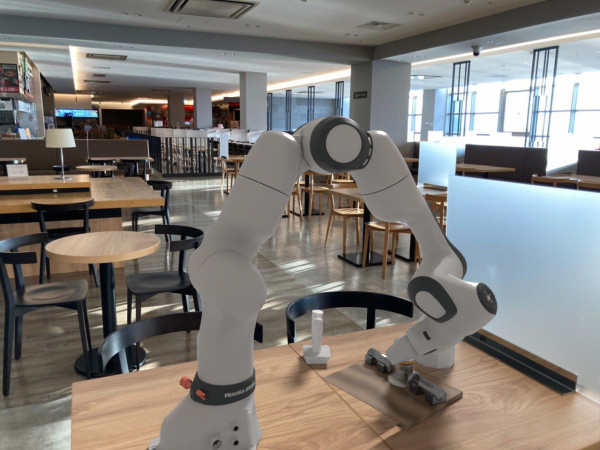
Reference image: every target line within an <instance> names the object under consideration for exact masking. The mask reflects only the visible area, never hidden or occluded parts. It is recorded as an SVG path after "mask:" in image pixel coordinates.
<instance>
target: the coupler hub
mask: <svg viewBox="0 0 600 450" xmlns="http://www.w3.org/2000/svg"><path fill="white" fill-rule="evenodd" d="M400 338H401V337H397V338H395V339H394V341H393V344H394V343H395V342H396V341H397V340H398V339H400ZM414 364H415V359H414V357H413V358H411V359H408V360H406V361H404V362H402V363H400V364H397V365H393V373H392V375H393V377H394V378H396V379H398V380H402V381H407V378H408V375H409V374H410V373H411V372H412V371H413V369H414Z"/></svg>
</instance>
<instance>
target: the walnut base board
mask: <svg viewBox="0 0 600 450" xmlns="http://www.w3.org/2000/svg"><path fill="white" fill-rule="evenodd" d="M413 371H417V372H419V373H420V374H421V377H423V378H425V379H426V380H428V381H430V382H431V383H433V384H435V385H437V386H438V387H440V388H442V389H443V390H445V392H447V397H446V401H445V402H443V403H440V404H437V405H435V406H431V405H430V404H428V403H427V402H425V393H424V394H421V395H418V396H416V395H414V394H413V393H411V392H410V391H409V390H410V385H408V383H407V381H402V380H398V379H396V378H394V377H393V375H392V373H385V374H382V373H380V372H379V371H377V364H376V365H373V366H370V365H368V364H367V363H365V359H364V360H361V361H359V362H357V363H354V364H351V365H349V366H347V367H345V368H342V369H339V370H338V371H334V372H333V373H330V374H327V375H326V376H324V377H321V379H322V380H323V381H326V382H327V383H328V384H331V385H332V386H334V387H336V388H338V389H339V390H341V391H342V392H345V393H346V394H348V395H350V396H352V397H354V398H356V399H357V400H358V401H361V402H363V403H365V404H366V405H368V406H370V407H372V408H373V409H375V410H377V411H379V412H380V413H382V414H384V415H385V416H387V417H389V418H391V419H393V420H395V421H396V422H398V424H396V427H398V428H400V429H401V430H404V431H408V430H411V429H412V428H413V427H415V426H416V425H418V424H420V423H421V422H423V421H425V420H426V419H427V418H429V417H431V416H432V415H435V414H436V413H437V412H439V411H441V410H443V409H444V408H446V407H447V406H448V405H451V404H452V403H454V402H455V401H457V400H459V399H460V398H462V397H463V393H464V392H463V390H461V389H458V388H456V387H454V386H452V385H450V384H447V383H445V382H444V381H441V380H439V379H436V378H434V377H432V376H430V375H427V374H425V373H423V372H421V371H419V370H416V369H414V368H413Z"/></svg>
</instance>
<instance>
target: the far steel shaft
mask: <svg viewBox="0 0 600 450" xmlns="http://www.w3.org/2000/svg"><path fill="white" fill-rule="evenodd" d="M364 360H365V363H367V364H368V365H370V366H373V365H376V364H377V371H379V372H380V373H382V374H385V373H393V365H392V364H391V362H390V361H389V359H388V357H387V355H386V354H385V353H383V352H381V351H380V350H378V349H376V348H374V347H369V349H368V350H367V352H366V354H365V357H364Z"/></svg>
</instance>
